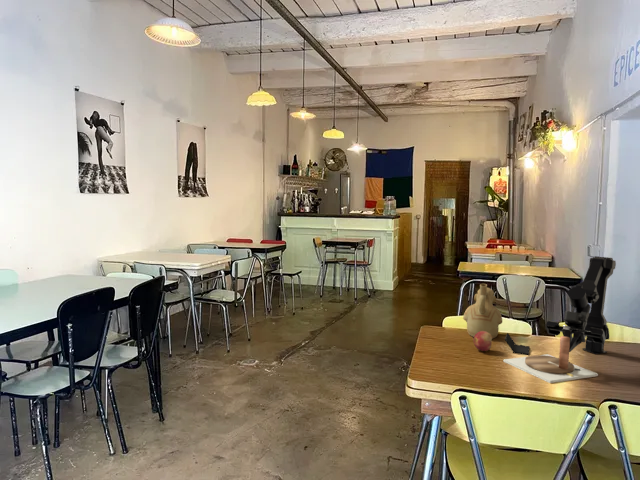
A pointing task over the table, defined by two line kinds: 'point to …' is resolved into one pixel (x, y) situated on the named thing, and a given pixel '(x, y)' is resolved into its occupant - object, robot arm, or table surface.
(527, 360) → the dial
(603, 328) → the robot arm
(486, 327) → the ceramic vessel
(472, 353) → the table surface
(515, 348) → the handheld gaming console
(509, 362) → the dial plate
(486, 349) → the fruit
